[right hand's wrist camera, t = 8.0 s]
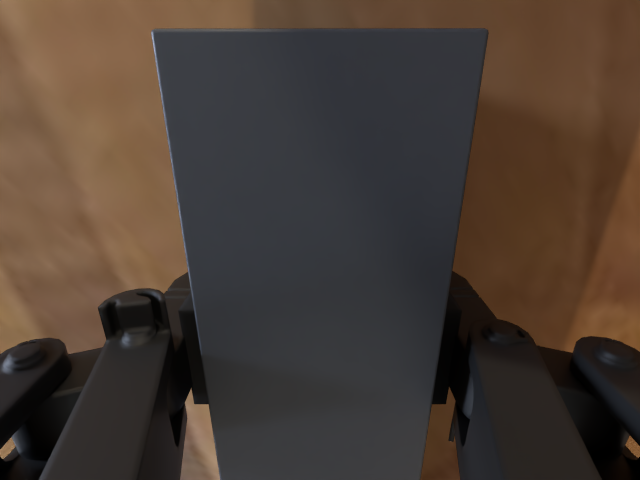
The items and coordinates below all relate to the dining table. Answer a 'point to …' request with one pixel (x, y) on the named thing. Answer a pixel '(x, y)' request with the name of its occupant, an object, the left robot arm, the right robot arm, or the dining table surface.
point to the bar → (320, 234)
